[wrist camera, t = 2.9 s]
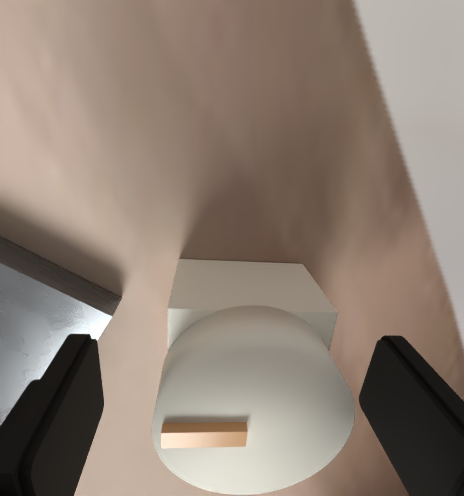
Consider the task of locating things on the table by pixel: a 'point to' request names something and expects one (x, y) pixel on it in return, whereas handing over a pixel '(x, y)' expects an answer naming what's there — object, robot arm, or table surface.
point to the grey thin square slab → (41, 316)
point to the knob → (249, 378)
